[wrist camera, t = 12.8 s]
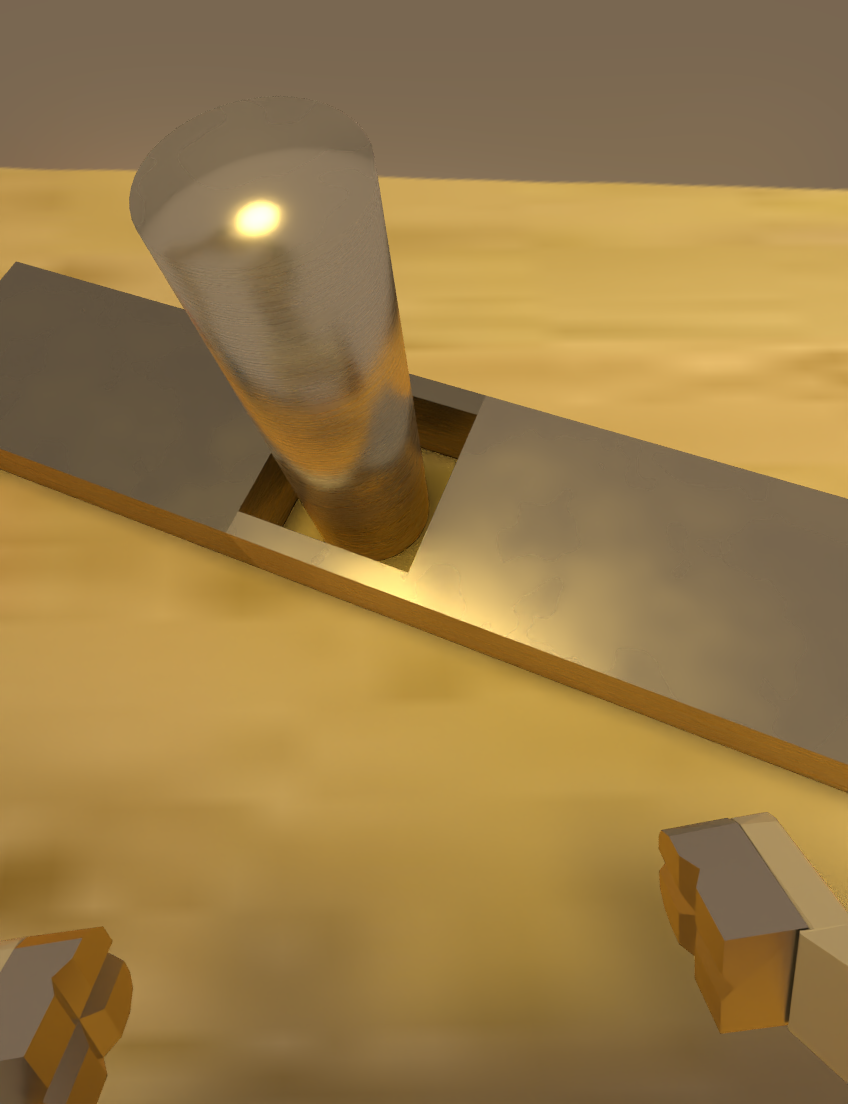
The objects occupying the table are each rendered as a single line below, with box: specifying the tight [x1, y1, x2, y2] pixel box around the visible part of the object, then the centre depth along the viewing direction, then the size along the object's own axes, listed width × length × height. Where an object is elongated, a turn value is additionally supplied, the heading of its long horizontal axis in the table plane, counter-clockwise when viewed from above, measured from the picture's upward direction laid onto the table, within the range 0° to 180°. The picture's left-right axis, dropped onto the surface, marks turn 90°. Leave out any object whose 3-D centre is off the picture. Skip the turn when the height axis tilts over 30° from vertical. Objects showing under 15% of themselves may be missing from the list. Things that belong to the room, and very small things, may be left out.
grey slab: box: [0, 262, 848, 793], centre depth 19 cm, size 32×7×3 cm, turn 68°
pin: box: [129, 96, 429, 561], centre depth 15 cm, size 4×4×12 cm
